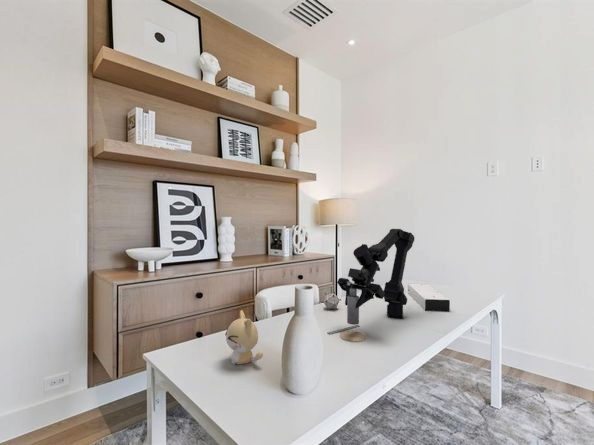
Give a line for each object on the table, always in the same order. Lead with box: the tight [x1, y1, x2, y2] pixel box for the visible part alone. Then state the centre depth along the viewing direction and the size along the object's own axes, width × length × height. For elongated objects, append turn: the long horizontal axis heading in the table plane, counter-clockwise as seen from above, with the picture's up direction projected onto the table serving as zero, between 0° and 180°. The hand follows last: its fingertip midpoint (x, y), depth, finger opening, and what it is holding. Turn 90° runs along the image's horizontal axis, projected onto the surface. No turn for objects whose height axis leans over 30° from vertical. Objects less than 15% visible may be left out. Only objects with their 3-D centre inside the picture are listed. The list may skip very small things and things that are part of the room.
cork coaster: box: [339, 330, 367, 343], centre depth 121 cm, size 10×10×1 cm
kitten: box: [225, 309, 264, 366], centre depth 100 cm, size 15×10×15 cm
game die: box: [321, 291, 342, 311], centre depth 155 cm, size 9×8×10 cm
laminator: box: [407, 283, 451, 312], centre depth 168 cm, size 34×12×6 cm, turn 174°
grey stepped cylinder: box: [346, 288, 360, 326], centre depth 120 cm, size 4×4×13 cm
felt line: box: [327, 324, 361, 336], centre depth 127 cm, size 16×2×1 cm, turn 123°
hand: (351, 306), depth 119 cm, fingers closed on grey stepped cylinder, 4 cm apart
